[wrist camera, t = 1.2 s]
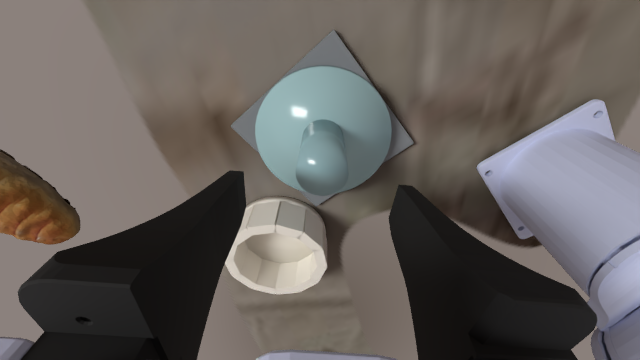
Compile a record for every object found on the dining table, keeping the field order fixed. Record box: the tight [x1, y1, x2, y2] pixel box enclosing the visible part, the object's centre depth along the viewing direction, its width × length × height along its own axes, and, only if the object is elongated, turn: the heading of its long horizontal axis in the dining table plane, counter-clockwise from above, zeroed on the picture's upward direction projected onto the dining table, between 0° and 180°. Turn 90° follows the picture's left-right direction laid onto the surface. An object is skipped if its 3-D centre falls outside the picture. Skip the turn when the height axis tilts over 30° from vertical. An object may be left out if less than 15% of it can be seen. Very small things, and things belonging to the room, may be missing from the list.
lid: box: [255, 65, 392, 196], centre depth 16 cm, size 9×9×5 cm
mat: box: [231, 30, 414, 206], centre depth 19 cm, size 9×9×1 cm
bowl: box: [225, 196, 327, 294], centre depth 23 cm, size 8×8×4 cm
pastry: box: [0, 149, 80, 244], centre depth 21 cm, size 9×7×4 cm
